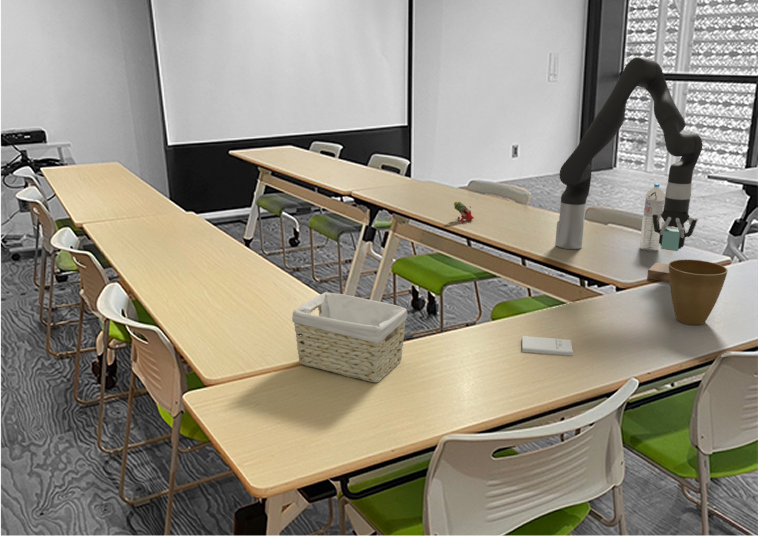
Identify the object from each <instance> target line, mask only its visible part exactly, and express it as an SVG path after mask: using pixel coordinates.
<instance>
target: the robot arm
mask: <svg viewBox="0 0 758 536" xmlns="http://www.w3.org/2000/svg"><path fill="white" fill-rule="evenodd" d="M664 75H665V74H664V72H663V70H662V67H661V65H660V64H659V63H658V62H657V61H655V60H653V59H649V58H646V57H641V56H635V57H633V58H631V60H629V62H628V63H627V64H626V65H625V67H624V69H623V70H622V72H621V73H620V76H619V78H618V80H617V82H616V84H615V86H614V87H613V90H612V91H611V92H610V94H609V96H608V98H607V99H606V101H605V102H604V104H603V106H602V107H601V109H600V110H599V111H598V113H597V114H596V116H595V118H594V119H593V120H592V122H591V124H590V126H589V128H588V129H587V131H586V132H585V133H584V135H583V137H582V138H581V140H580V141H579V143H578V145H577V146H576V148H575V149H574V150H573V152H572V153H571V154H570V155H569V156H568V158H567V159H566V161H565V162H564V163H562V165H561V167H560V170H559V179H560V181H561V183H562V184H563V185H565V186H566V187H565V189H564V191H563V192H562V193H561V197H560V206H559V216H558V217H559V218H558V219H559V220H557V222H556V231H555V242H554V244H555V245H554V246H556V247H559V248H561V249H565V250H579V249H582V248H583V239H584V238H583V237H584V225H585V219H586V217H585V215H586V209H587V208H586V205H587V198H588V197H589V194H590V188H591V180H592V168H591V167H592V166H591V165H590V163H591V162H592V160H593V159H594V158H595V157H596V155H598V154H599V153H600V152H601V151H602V150H603V149H604V148H605V147H606V146H608V145H609V144H610V142H611V141H613V139H614V138H615V137H616V135H617V134H618V132H619V130H620V128H621V127H622V126H623V123H624V121H625V117H626V109H627V108H626V105H627V104H628V103H627V102H628V100H629V98H630V96H631V95H632V93H633V91H635V89H636V88H637V87H639V88H642V89H645V90H646V91H647V92H648V94H649V95H650V97H651V98H652V101H653V113H654V117H655V119H656V121H657V123H658V125H659V127H660V128H661V130H662V133H663V138H664V144H665V145H664V146H665V149H666V150H667V152H668V153H669V154H670V155H671V156H673V157H676V158H678V157H680V159H679V160H678V161H677V162H675V163H673V164H671V165H670V167H669V171H668V179H667V184H666V187H665V193H664V194H665V200H664V207H663V212H662V214H657V213H655V214H654V215H653V224H654V231H655V232H657V233H659V234H660V237H659V245H660V246H661V245H662V237H663V231H665V230H666V229H667V228H671V227H673V228H677V230H679V233H680V239H679V247H678V248H679V250H681V249H682V248H683V247H684V246H685V241H686V238H690V237H691V236H692V235H693V233H694V230H695V228H696V226H697V223H698V221H699V219H698V218H696V217H695V218H693V217H690V215H689V209H690V203H691V197H692V181H693V175H694V173H693V172H694V169H695V167H696V165H697V162H698V160H699V158H700V156H701V153H702V150H703V140H702V137H701V136H700V135H699V134H698V133H695V132H693V133H692V132H691V133H682V131H683V130H684V129H685V127H686V121H685V119H684V117H683V115H682V114H681V112H680V110H679V109H678V106H677V105H676V103H675V101H674V99H673V96H672V94H671V93H670V90H669V87H668V84H667V81H666V78H665V76H664ZM661 217H662V221H663V222H664V224H662V225H663V226H661V229H660V225H659V220H660V218H661ZM687 221H688V224H689V228H688V230H687V231H686V228H685V224H686V223H687Z"/></svg>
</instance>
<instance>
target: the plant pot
mask: <svg viewBox="0 0 758 536" xmlns="http://www.w3.org/2000/svg"><path fill="white" fill-rule="evenodd" d="M727 275H728V268H727V267H726V266H724V265H722V264H718V263H715V262H713V261H706V260H701V259H700V260H699V259H675V260H673V261H670V262H669V280H670V282H669V289H670V295H671V301H672V306H673V311H674V313H675V318H676V321H678V322H680V323H682V324H685V325H690V326H692V325H693V326H701V325H704V324H705V323H706V321H707V320H708V318H709V316H710V315H711V313H712V311H713V309H714V307H715V305H716V304H717V301H718V299H719V297H720V294H721V292H722V289H723V287H724V284H725V282H726V281H725V280H726V277H727Z"/></svg>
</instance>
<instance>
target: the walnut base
mask: <svg viewBox="0 0 758 536" xmlns="http://www.w3.org/2000/svg"><path fill="white" fill-rule="evenodd" d="M647 279H649V280H655V281H660V282H666V283H670V280H669V264H668V263H662V262H655V263H654V264H653V265H651V266H650V267H649V268H648V270H647Z"/></svg>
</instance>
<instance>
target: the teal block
mask: <svg viewBox="0 0 758 536" xmlns="http://www.w3.org/2000/svg"><path fill="white" fill-rule="evenodd" d="M679 239H680V233H679V230H678V228H677V229H675V228H671V227H668V228H667V229H666V230H665V231H663V237H662V245H661V244H660V249H661V250H665V251H666V250H667V251H673V252H678V251H679V250H680V249H679V248H678V247H679Z"/></svg>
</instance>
